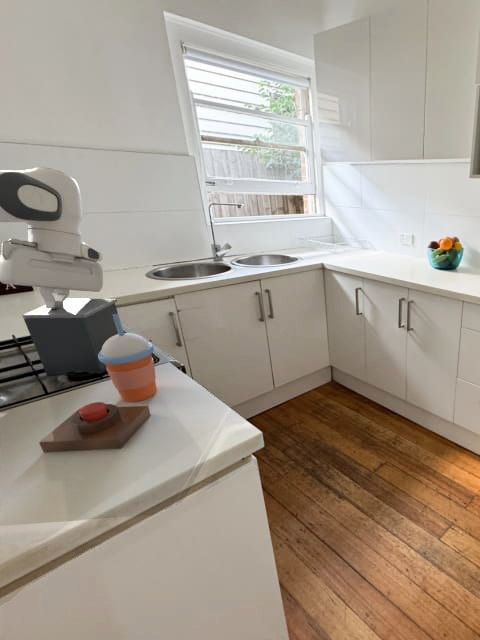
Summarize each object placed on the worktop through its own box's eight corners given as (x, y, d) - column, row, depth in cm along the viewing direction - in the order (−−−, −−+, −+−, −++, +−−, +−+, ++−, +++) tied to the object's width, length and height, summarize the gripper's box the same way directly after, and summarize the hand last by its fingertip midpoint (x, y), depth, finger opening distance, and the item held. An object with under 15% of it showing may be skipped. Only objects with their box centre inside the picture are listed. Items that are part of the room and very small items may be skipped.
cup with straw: (117, 389, 82) (91, 310, 75) (166, 380, 86) (146, 304, 79) (109, 410, 75) (79, 325, 68) (163, 400, 79) (140, 318, 71)
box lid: (117, 301, 93) (116, 298, 93) (85, 317, 83) (84, 314, 82) (62, 301, 92) (61, 298, 91) (23, 318, 81) (21, 314, 81)
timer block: (43, 452, 63) (34, 433, 62) (83, 418, 72) (76, 400, 71) (121, 448, 65) (114, 429, 63) (151, 415, 74) (145, 397, 72)
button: (77, 422, 65) (73, 413, 65) (90, 410, 69) (87, 402, 68) (99, 421, 66) (96, 412, 65) (112, 409, 69) (109, 401, 68)
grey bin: (130, 352, 99) (114, 301, 93) (102, 373, 88) (82, 317, 83) (81, 353, 97) (62, 302, 92) (46, 375, 87) (23, 318, 81)
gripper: (17, 236, 74) (17, 307, 75) (108, 255, 94) (108, 311, 95) (-13, 235, 75) (-13, 306, 75) (84, 254, 95) (84, 309, 96)
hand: (55, 308), depth 85 cm, fingers closed, pressing on box lid
